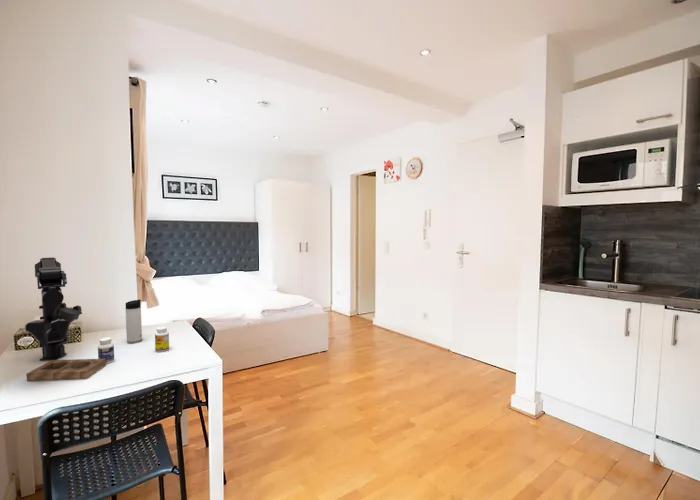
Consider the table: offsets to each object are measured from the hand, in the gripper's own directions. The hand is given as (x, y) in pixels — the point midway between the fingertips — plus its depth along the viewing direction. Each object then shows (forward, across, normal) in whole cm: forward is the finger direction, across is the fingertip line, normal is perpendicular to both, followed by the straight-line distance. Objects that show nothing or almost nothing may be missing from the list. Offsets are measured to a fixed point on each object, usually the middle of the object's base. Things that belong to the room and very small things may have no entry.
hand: (54, 342), depth 130 cm
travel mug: (+12, +35, -12) cm, 39 cm away
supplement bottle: (+12, +22, -29) cm, 39 cm away
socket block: (+12, 0, -4) cm, 13 cm away
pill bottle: (+12, +10, -12) cm, 20 cm away
